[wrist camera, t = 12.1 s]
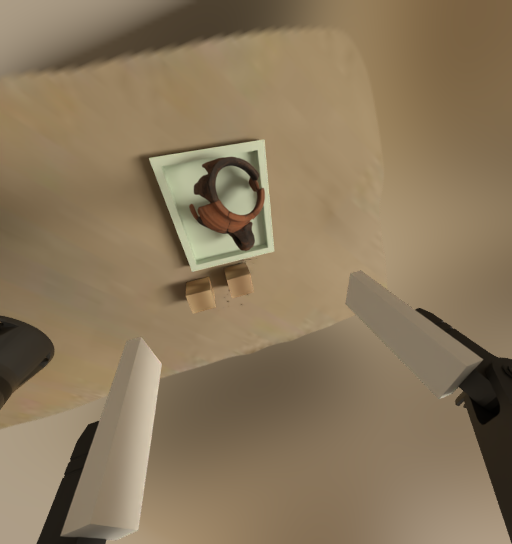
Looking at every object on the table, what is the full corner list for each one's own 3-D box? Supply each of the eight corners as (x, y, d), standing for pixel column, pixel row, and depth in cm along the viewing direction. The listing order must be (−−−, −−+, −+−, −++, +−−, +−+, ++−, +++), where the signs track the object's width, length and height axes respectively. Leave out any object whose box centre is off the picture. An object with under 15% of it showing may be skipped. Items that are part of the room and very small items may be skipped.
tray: (192, 265, 33) (192, 271, 31) (151, 157, 24) (148, 158, 23) (270, 246, 35) (274, 251, 33) (259, 140, 26) (264, 139, 25)
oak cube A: (193, 298, 37) (192, 313, 34) (186, 282, 35) (185, 296, 31) (214, 293, 37) (216, 307, 34) (208, 276, 35) (210, 289, 32)
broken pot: (168, 190, 26) (182, 168, 19) (222, 162, 30) (250, 134, 23) (219, 263, 31) (244, 266, 24) (260, 230, 34) (292, 225, 27)
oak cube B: (228, 285, 37) (232, 298, 34) (223, 267, 35) (226, 280, 32) (248, 279, 38) (253, 292, 35) (245, 262, 36) (250, 273, 32)
